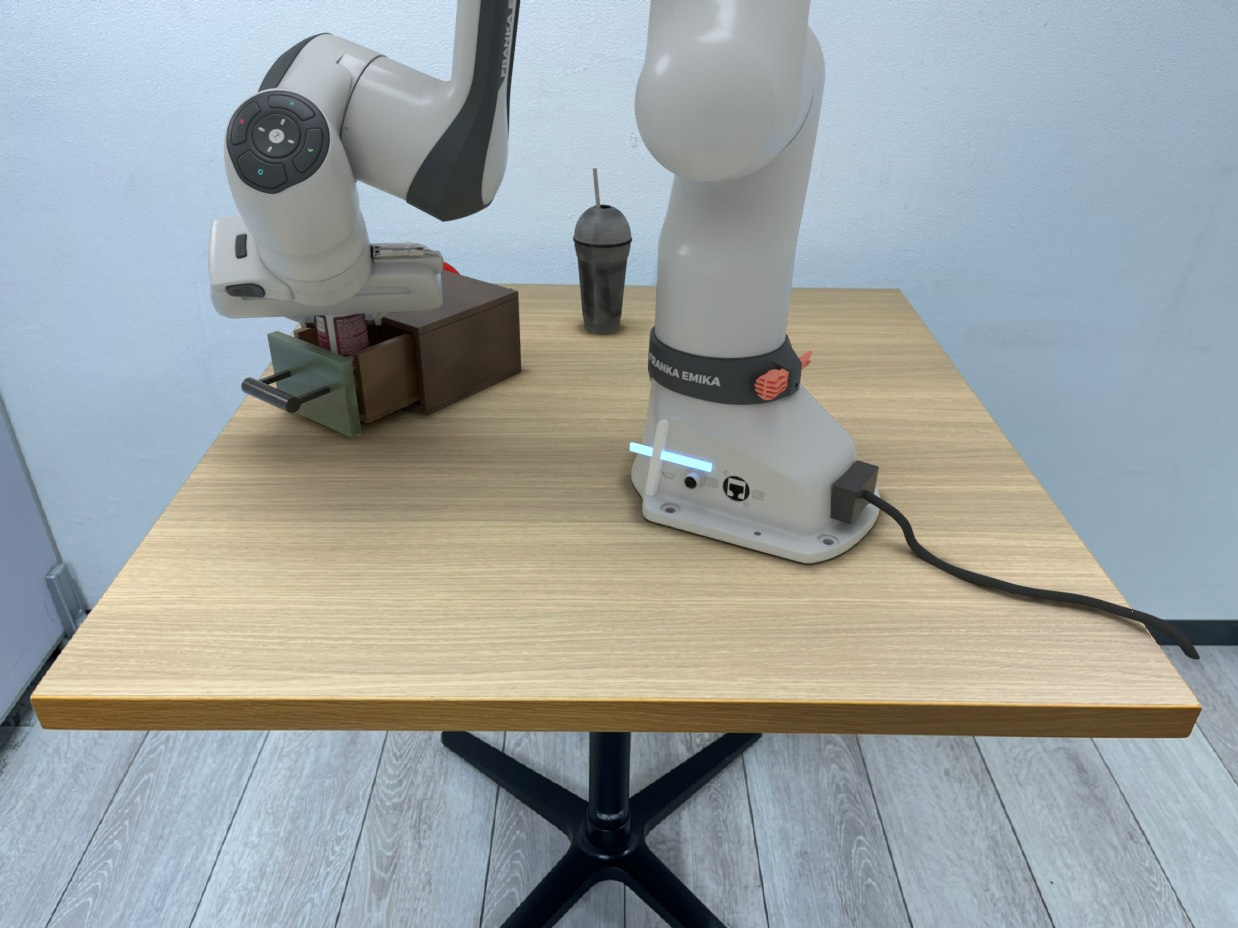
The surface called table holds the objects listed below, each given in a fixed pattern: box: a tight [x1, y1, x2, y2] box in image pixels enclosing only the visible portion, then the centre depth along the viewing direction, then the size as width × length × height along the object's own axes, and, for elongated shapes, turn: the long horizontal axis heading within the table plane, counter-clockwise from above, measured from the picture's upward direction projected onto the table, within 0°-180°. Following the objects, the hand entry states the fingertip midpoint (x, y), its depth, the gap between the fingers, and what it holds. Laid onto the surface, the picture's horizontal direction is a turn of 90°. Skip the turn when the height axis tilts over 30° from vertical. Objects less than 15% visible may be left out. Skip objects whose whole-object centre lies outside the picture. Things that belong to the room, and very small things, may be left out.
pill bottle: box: [315, 314, 369, 371], centre depth 90 cm, size 5×5×8 cm
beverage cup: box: [572, 167, 633, 336], centre depth 112 cm, size 7×7×20 cm
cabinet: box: [381, 270, 522, 416], centre depth 100 cm, size 15×13×10 cm
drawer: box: [240, 323, 420, 438], centre depth 92 cm, size 18×11×8 cm, turn 143°
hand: (341, 320), depth 90 cm, fingers closed on pill bottle, 5 cm apart
